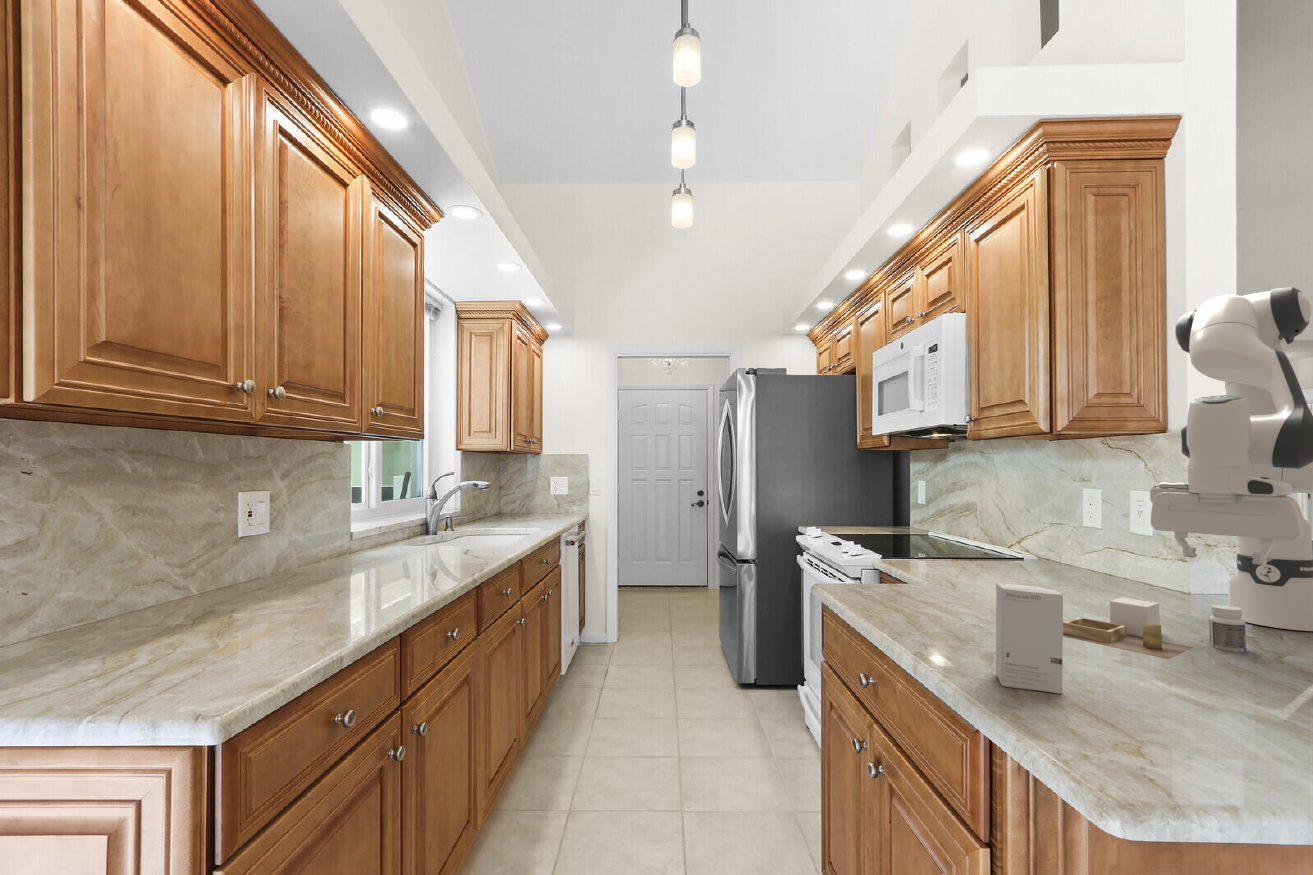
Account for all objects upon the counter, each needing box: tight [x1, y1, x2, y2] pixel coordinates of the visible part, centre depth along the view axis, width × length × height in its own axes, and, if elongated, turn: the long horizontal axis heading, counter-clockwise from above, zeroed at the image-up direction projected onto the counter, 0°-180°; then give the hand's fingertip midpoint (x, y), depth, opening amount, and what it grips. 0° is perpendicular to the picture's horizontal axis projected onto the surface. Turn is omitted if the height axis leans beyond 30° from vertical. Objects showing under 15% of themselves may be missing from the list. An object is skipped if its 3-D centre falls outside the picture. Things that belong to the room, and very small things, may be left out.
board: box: [1063, 616, 1193, 660], centre depth 111 cm, size 12×17×5 cm
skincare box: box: [995, 582, 1064, 694], centre depth 92 cm, size 8×6×15 cm
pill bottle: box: [1208, 604, 1247, 653], centre depth 107 cm, size 5×5×8 cm
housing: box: [1109, 597, 1161, 637], centre depth 117 cm, size 6×6×7 cm
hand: (1223, 560), depth 108 cm, fingers open, 8 cm apart
